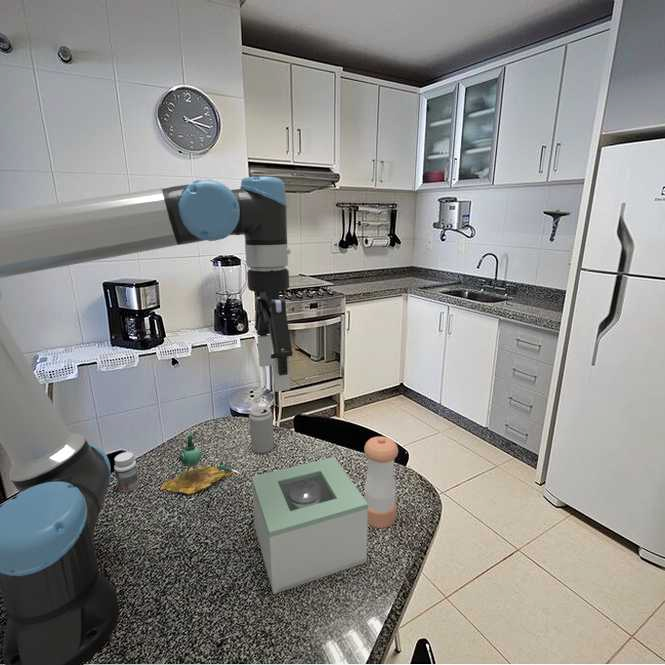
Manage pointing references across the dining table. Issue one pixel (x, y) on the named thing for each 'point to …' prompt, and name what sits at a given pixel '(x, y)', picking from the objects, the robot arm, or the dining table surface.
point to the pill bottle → (126, 472)
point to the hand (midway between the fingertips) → (273, 377)
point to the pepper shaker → (380, 481)
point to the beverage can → (261, 429)
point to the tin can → (304, 494)
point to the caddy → (309, 524)
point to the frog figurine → (195, 472)
